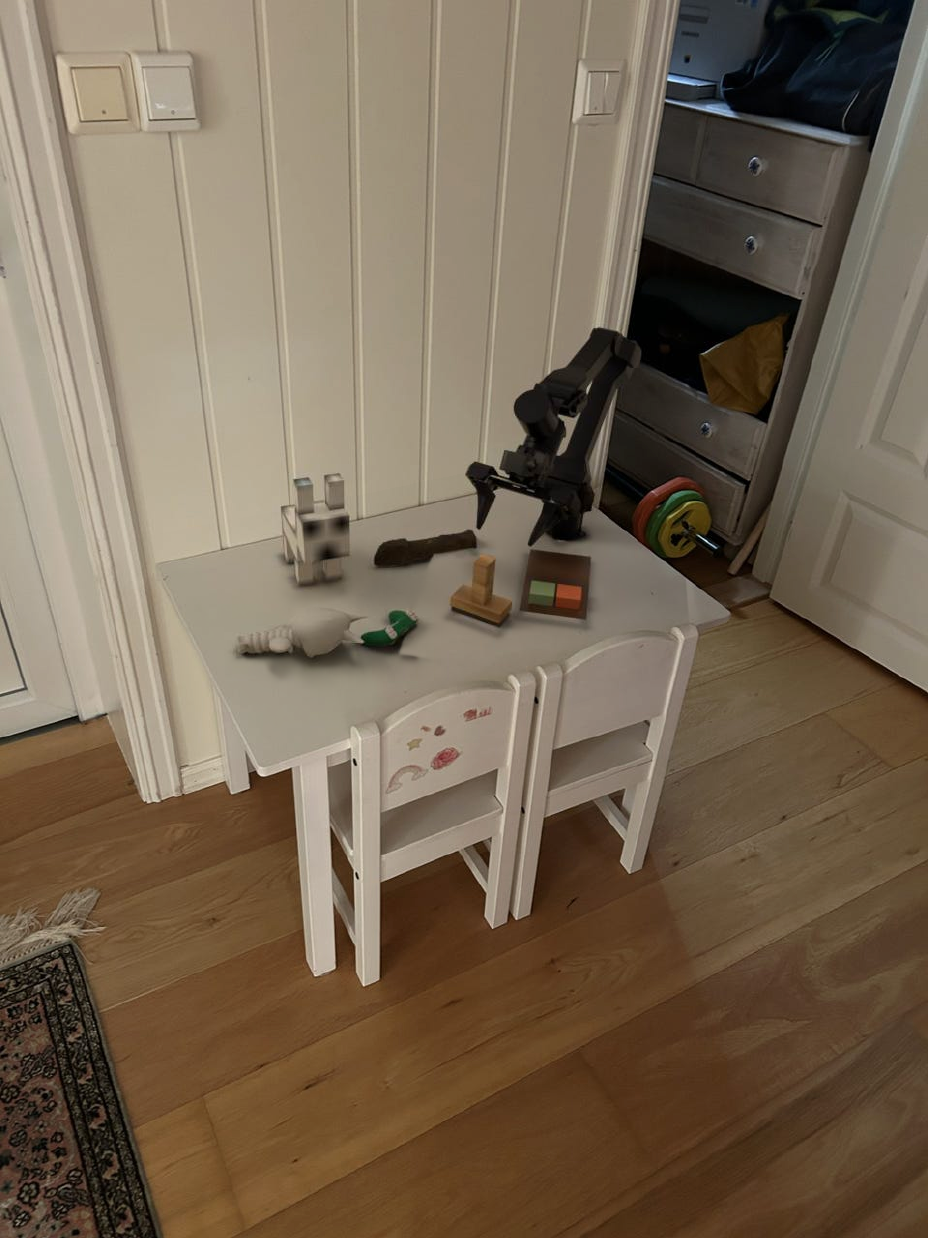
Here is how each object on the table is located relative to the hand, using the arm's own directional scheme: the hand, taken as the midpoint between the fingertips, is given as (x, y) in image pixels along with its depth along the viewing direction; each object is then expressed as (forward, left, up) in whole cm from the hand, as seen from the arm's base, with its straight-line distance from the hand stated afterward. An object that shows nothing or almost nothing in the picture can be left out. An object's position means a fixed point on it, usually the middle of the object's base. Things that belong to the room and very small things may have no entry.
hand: (503, 537), depth 149 cm
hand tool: (+4, -17, -13) cm, 22 cm away
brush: (+6, +3, -12) cm, 14 cm away
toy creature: (+34, -3, -13) cm, 36 cm away
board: (-11, +2, -12) cm, 17 cm away
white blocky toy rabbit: (+23, -23, -13) cm, 35 cm away
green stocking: (+21, 0, -13) cm, 24 cm away
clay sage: (-6, +5, -11) cm, 13 cm away
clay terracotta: (-9, +7, -11) cm, 16 cm away
